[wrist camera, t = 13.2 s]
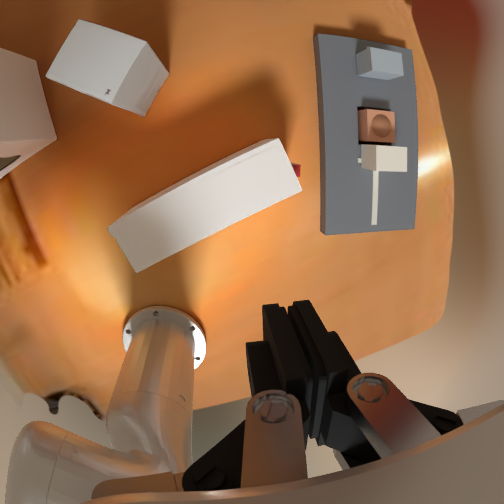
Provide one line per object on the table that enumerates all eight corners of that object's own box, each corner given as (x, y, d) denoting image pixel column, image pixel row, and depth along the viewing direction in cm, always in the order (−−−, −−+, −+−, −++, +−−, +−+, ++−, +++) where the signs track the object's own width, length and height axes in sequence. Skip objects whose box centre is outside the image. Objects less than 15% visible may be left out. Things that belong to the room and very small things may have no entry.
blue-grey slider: (387, 80, 33) (403, 75, 29) (357, 76, 32) (372, 70, 29) (385, 59, 32) (401, 53, 28) (355, 54, 31) (370, 46, 28)
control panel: (406, 225, 42) (414, 229, 40) (320, 231, 41) (325, 235, 39) (404, 52, 33) (412, 49, 31) (313, 38, 32) (318, 33, 30)
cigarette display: (151, 245, 39) (134, 274, 30) (130, 208, 37) (106, 228, 28) (291, 175, 38) (314, 184, 29) (273, 135, 36) (291, 132, 28)
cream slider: (390, 168, 37) (406, 171, 33) (361, 167, 36) (376, 171, 33) (390, 145, 36) (407, 147, 32) (361, 144, 35) (376, 145, 32)
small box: (170, 73, 32) (149, 40, 20) (145, 118, 34) (111, 106, 21) (117, 51, 30) (78, 17, 18) (93, 94, 32) (43, 77, 19)
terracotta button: (382, 142, 37) (395, 142, 34) (356, 140, 37) (368, 141, 34) (382, 113, 36) (394, 111, 33) (355, 110, 36) (367, 108, 32)
